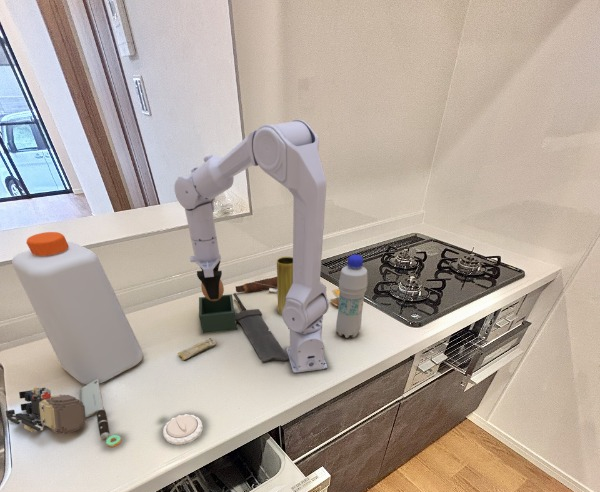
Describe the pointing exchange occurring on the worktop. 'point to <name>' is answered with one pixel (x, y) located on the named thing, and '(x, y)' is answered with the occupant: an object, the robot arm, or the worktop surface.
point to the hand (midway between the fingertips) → (214, 293)
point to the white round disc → (182, 429)
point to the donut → (113, 437)
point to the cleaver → (95, 406)
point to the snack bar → (196, 349)
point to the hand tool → (258, 285)
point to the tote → (217, 314)
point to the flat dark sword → (259, 334)
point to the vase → (284, 280)
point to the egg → (221, 290)
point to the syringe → (271, 289)
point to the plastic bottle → (77, 308)
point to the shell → (336, 293)
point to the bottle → (351, 297)
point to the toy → (49, 411)
